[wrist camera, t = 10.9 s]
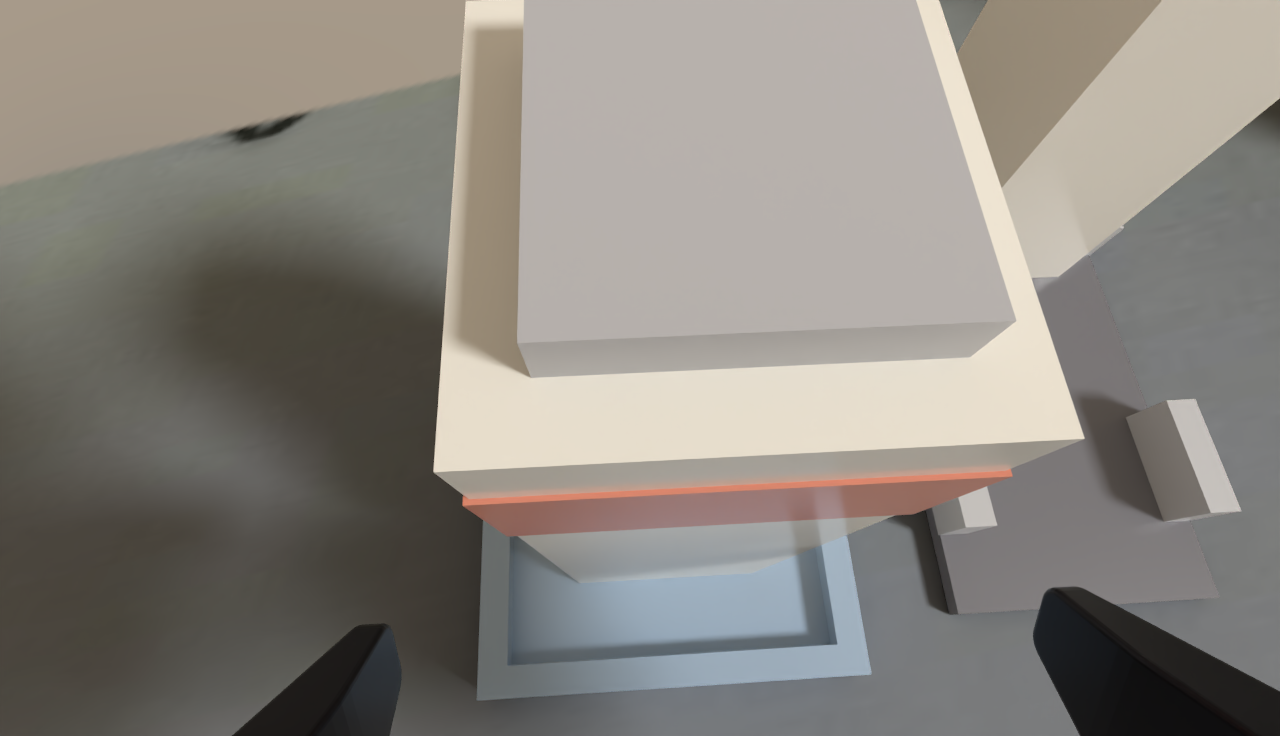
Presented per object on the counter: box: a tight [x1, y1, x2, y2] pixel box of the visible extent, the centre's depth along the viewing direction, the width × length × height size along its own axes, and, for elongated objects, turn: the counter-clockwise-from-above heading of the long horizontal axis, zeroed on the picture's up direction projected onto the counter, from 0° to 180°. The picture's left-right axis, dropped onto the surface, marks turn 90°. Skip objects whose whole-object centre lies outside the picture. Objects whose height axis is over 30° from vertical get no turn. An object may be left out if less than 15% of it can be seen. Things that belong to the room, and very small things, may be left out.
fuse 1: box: [433, 0, 1085, 583], centre depth 11 cm, size 5×5×14 cm
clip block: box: [926, 225, 1241, 615], centre depth 19 cm, size 16×7×2 cm, turn 3°
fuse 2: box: [957, 0, 1280, 278], centre depth 15 cm, size 4×4×14 cm
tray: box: [477, 520, 871, 701], centre depth 17 cm, size 9×9×1 cm
